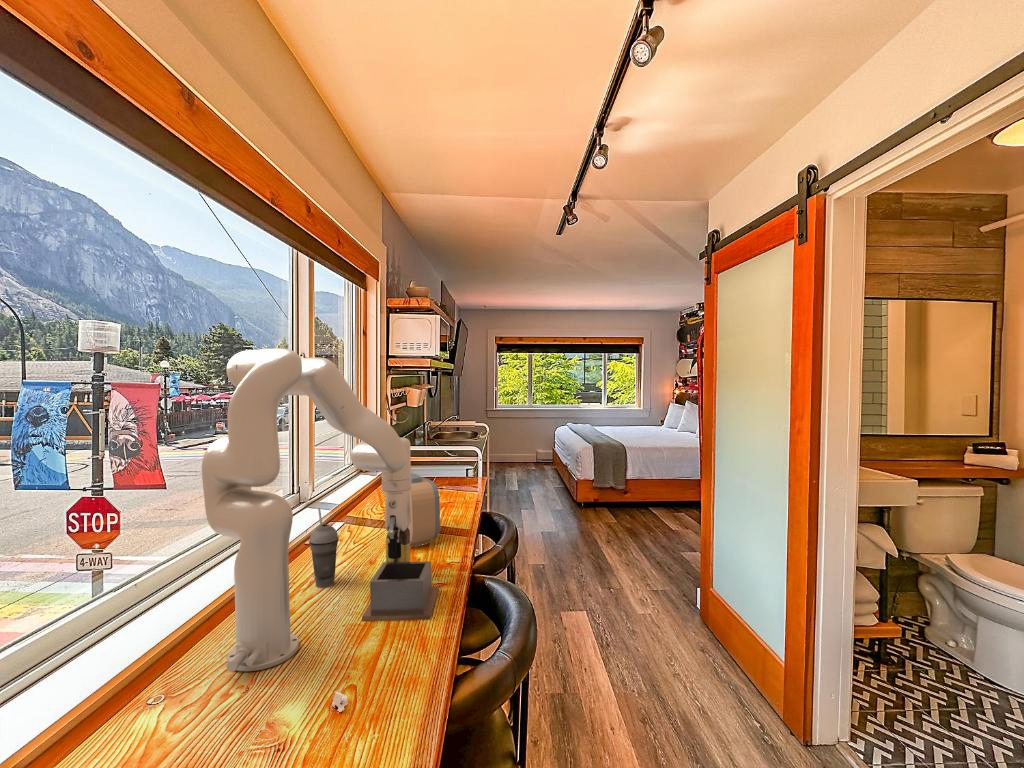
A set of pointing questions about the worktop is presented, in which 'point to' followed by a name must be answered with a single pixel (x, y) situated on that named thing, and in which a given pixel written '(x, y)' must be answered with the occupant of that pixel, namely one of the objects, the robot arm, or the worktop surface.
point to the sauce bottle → (404, 547)
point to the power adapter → (339, 701)
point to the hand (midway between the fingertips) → (398, 551)
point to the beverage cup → (324, 553)
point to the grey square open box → (401, 592)
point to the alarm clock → (423, 511)
